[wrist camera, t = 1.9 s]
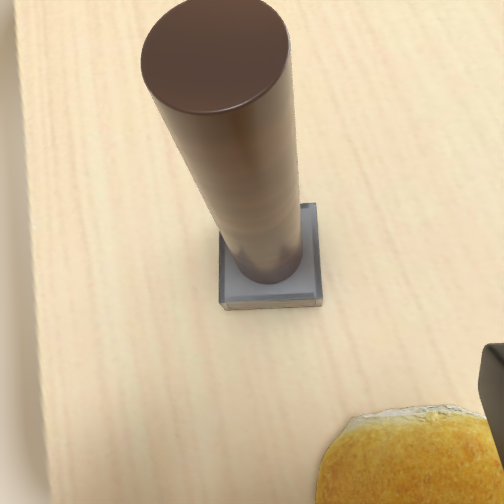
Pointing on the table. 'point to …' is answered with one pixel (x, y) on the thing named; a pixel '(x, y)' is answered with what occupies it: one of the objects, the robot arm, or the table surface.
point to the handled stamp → (239, 144)
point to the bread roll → (413, 459)
